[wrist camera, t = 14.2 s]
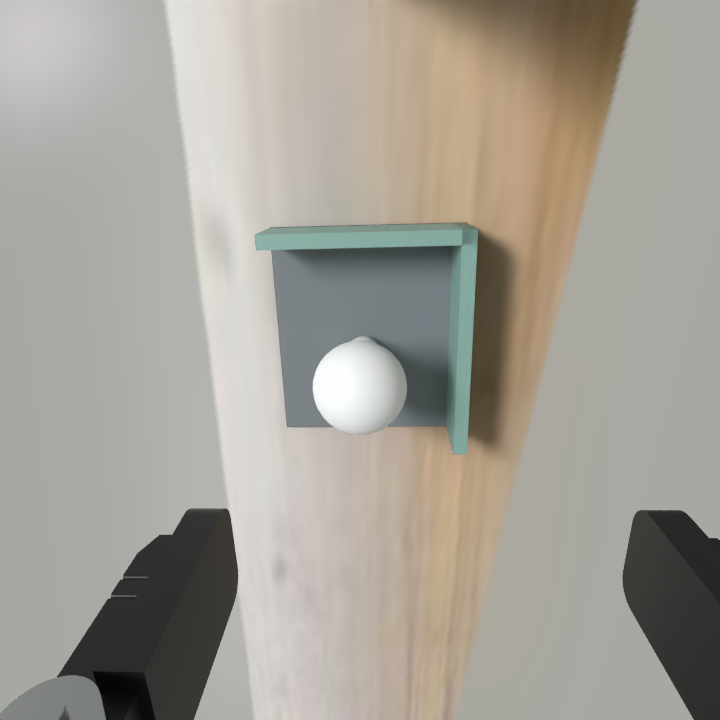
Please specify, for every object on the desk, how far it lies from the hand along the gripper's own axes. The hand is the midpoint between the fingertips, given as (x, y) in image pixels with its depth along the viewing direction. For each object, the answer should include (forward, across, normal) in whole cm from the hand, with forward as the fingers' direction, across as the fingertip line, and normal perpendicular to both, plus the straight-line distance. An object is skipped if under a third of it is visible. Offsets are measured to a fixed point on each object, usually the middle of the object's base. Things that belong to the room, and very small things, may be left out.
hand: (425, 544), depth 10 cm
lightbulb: (+30, +2, +6) cm, 31 cm away
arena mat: (+30, +2, +5) cm, 31 cm away
